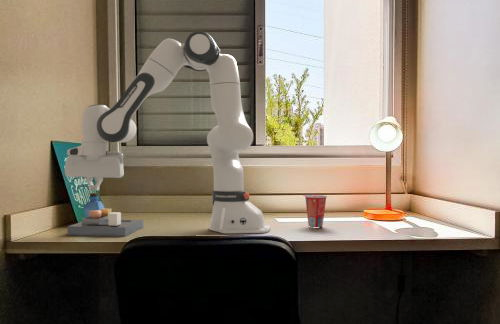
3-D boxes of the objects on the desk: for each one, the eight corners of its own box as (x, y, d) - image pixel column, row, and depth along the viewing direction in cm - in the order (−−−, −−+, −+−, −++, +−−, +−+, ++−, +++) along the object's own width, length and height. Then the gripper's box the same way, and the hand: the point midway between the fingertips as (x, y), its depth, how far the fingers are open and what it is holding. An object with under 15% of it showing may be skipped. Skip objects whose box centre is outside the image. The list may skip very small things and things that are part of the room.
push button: (103, 217, 131) (103, 210, 131) (97, 219, 127) (97, 211, 127) (92, 217, 131) (92, 210, 131) (86, 218, 127) (86, 211, 127)
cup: (325, 225, 143) (325, 194, 143) (328, 229, 135) (328, 197, 135) (301, 224, 144) (301, 194, 144) (302, 228, 136) (302, 196, 136)
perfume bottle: (82, 224, 143) (82, 194, 143) (89, 222, 149) (89, 192, 149) (98, 224, 143) (98, 194, 143) (104, 222, 149) (104, 192, 149)
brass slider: (111, 219, 136) (111, 208, 136) (107, 220, 133) (107, 209, 133) (103, 219, 136) (103, 208, 136) (99, 220, 133) (99, 209, 133)
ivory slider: (120, 224, 126) (120, 212, 126) (117, 225, 123) (117, 213, 123) (112, 223, 126) (112, 212, 126) (108, 225, 123) (108, 213, 123)
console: (143, 227, 137) (143, 214, 137) (125, 236, 121) (125, 221, 121) (92, 226, 139) (92, 213, 139) (67, 235, 123) (67, 220, 123)
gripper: (127, 151, 131) (126, 190, 131) (72, 150, 133) (72, 188, 133) (119, 151, 125) (118, 191, 125) (62, 150, 127) (61, 190, 127)
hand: (94, 190), depth 129 cm, fingers closed
